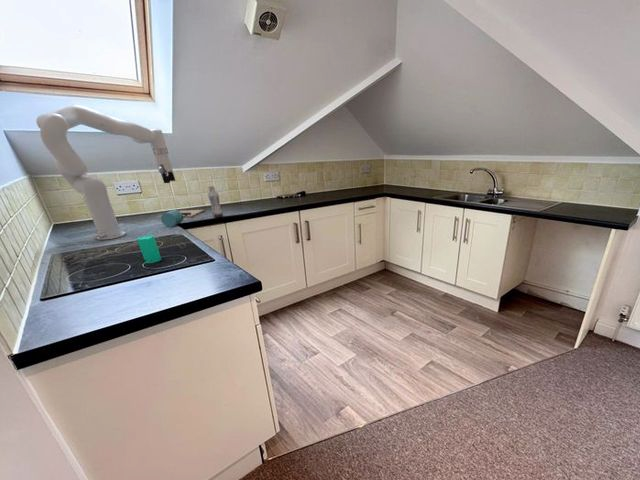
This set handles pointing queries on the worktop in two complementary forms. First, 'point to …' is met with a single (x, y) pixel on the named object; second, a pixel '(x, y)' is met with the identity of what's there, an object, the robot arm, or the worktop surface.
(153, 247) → the candle
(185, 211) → the board
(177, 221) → the bucket
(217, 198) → the plastic bottle
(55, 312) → the worktop surface
